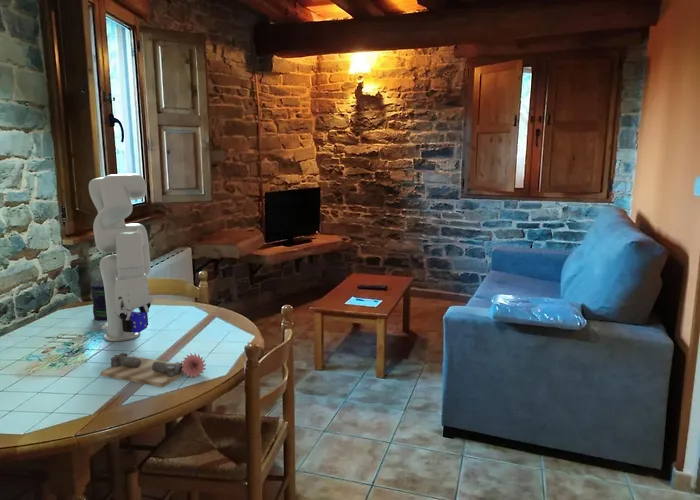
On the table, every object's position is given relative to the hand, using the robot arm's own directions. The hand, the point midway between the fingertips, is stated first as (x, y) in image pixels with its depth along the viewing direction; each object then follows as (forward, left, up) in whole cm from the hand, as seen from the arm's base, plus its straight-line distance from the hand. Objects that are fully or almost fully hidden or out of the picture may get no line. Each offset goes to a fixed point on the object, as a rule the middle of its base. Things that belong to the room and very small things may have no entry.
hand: (135, 327), depth 166 cm
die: (0, 0, -1) cm, 1 cm away
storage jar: (-56, +42, -15) cm, 71 cm away
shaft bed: (+1, +2, -15) cm, 15 cm away
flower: (+16, +6, -15) cm, 23 cm away
